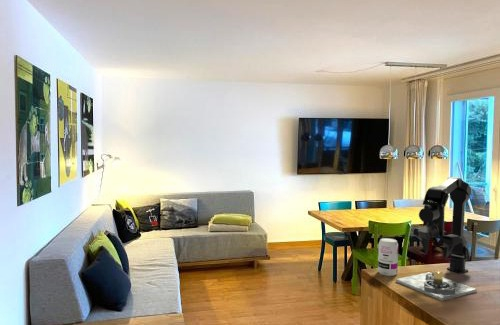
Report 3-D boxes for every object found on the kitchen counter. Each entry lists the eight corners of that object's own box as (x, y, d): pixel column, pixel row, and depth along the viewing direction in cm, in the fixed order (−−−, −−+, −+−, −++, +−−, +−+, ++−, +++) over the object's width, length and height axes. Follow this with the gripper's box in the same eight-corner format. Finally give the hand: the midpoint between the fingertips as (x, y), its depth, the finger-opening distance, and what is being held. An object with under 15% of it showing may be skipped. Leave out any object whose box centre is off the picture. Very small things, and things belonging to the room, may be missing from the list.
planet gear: (436, 283, 162) (436, 268, 161) (450, 288, 156) (450, 273, 156) (425, 285, 159) (425, 271, 159) (439, 291, 153) (439, 276, 153)
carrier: (428, 274, 175) (429, 266, 175) (476, 292, 156) (476, 282, 156) (395, 281, 167) (396, 272, 166) (441, 301, 147) (442, 290, 147)
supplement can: (394, 270, 181) (395, 238, 180) (399, 276, 173) (400, 242, 172) (376, 269, 182) (377, 237, 181) (380, 276, 174) (381, 242, 173)
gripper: (404, 216, 167) (403, 252, 169) (443, 225, 151) (442, 265, 152) (422, 213, 172) (421, 249, 174) (462, 222, 156) (461, 261, 157)
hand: (435, 255), depth 164 cm, fingers open, 9 cm apart
